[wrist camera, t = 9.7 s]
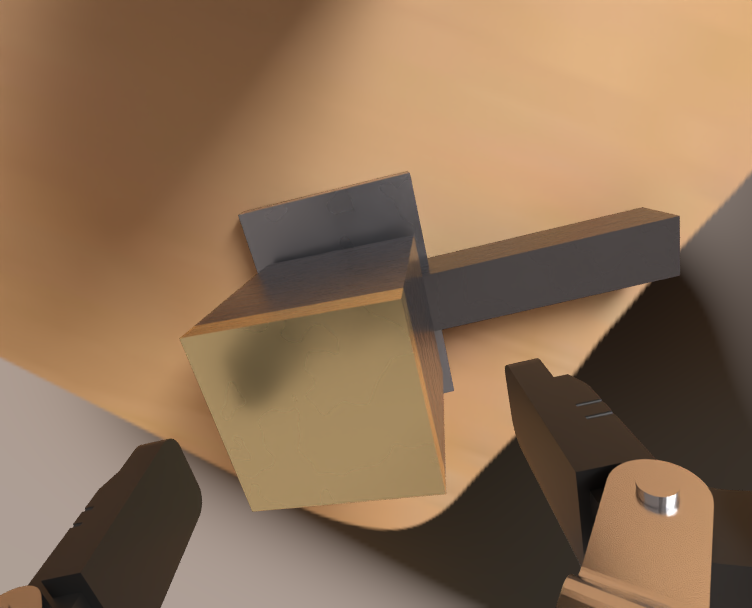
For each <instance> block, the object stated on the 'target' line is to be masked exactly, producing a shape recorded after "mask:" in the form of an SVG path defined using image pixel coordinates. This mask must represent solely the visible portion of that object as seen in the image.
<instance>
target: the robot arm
mask: <svg viewBox="0 0 752 608" xmlns="http://www.w3.org/2000/svg"><path fill="white" fill-rule="evenodd" d="M505 375H506V382H507V389H508V395H509V402H510V408H511V415H512V421H513V426H514V430H515V434H516V437H517V440H518V442H519V445H520V447H521V449H522V451H523V453H524V455H525V457H526V459H527V461H528V463H529V465H530V467H531V469H532V471H533V473H534V475H535V477H536V479H537V481H538V483H539V485H540V487H541V489H542V491H543V493H544V495H545V497H546V499H547V501H548V502H549V505H550V507H551V508H552V510H553V512H554V514H555V516H556V518H557V520H558V522H559V524H560V526H561V528H562V530H563V532H564V534H565V536H566V538H567V540H568V542H569V544H570V546H571V548H572V550H573V552H574V554H575V556H576V558H577V560H578V562H579V564H580V566H581V570H580V573H579V575H578V576H576V575H573V574H570V575H569V576H568V577H567V579H566V580H565V582H564V585H563V587H562V590H561V593H560V596H559V599H558V602H557V605H556V608H752V491H739V490H723V489H716V488H710V487H707V486H706V484H705V483H704V482H703V481H701V479H699V478H698V477H697V476H696V475H694V474H693V473H691V472H690V471H688V470H686V469H684V468H682V467H680V466H677V465H674V464H672V463H668V462H664V461H659V460H656V459H655V458H654V457H653V455H652V454H651V453H650V452H649V451H648V450H647V449H646V448H645V447H644V446H643V445H642V443H641V442H640V441H639V440H638V439H637V438H636V437H635V436H634V434H633V433H632V432H631V431H630V430H629V429H628V428H627V427H626V426H625V425H624V423H623V422H622V421H621V420H620V419H619V418H618V417H617V416H616V415H615V414H613V413H612V410H611V409H610V408H609V407H608V406H607V405H606V404H605V402H602V400H601V398H600V397H599V396H598V395H597V394H596V392H595V391H593V389H592V388H591V387H590V386H589V385H588V384H586V383H584V382H582V381H580V380H578V379H576V378H574V377H572V376H570V375H568V374H567V375H562V376H558V377H553V376H552V374H551V373H550V372H549V371H548V369H547V368H546V367H545V365H544V364H543V363H542V362H541V360H540V359H538V358H536V359H532V360H527V361H523V362H518V363H514V364H509V365H506V366H505ZM201 507H202V496H201V491H200V488H199V485H198V483H197V481H196V479H195V477H194V475H193V473H192V470H191V469H190V466H189V464H188V462H187V460H186V458H185V456H184V454H183V452H182V449H181V447H180V445H179V444H178V442H177V441H176V440H174V439H166V440H161V441H157V442H152V443H148V444H144V445H140V446H138V447H137V448H136V449H135V450H134V452H133V453H132V454H131V456H130V457H129V459H128V460H127V461H126V463H125V464H124V465H123V467H122V468H121V470H120V471H119V472H118V473H117V474H116V475H114V476H113V477H112V478H111V479H110V480H109V481H108V482H107V483H106V484H104V485H103V486H102V487H101V488H100V489H99V490H98V491H97V493H96V494H95V495H94V497H93V498H92V500H91V501H90V502H89V503H88V505H87V506H86V507H85V511H84V512H82V513H81V514H80V516H79V517H78V518H77V520H76V521H75V523H74V524H73V525H74V527H73V528H70V529H69V530H68V532H67V533H66V534H65V536H64V538H63V539H62V540H61V541H60V543H59V544H58V545H57V547H56V548H55V550H54V551H53V552H52V553H51V555H50V556H49V557H48V559H47V560H46V562H45V563H44V564H43V566H42V567H41V568H40V570H39V571H38V572H37V574H36V575H35V576H34V578H33V579H32V580H31V582H30V583H29V585H28V586H23V587H18V588H15V589H12V590H10V591H8V592H6V593H4V594H2V595H0V608H160V607H161V605H162V603H163V601H164V598H165V596H166V594H167V591H168V589H169V586H170V584H171V582H172V579H173V577H174V574H175V572H176V570H177V568H178V565H179V563H180V560H181V558H182V556H183V554H184V551H185V549H186V547H187V544H188V542H189V539H190V537H191V535H192V532H193V530H194V528H195V525H196V523H197V521H198V518H199V516H200V513H201Z"/></svg>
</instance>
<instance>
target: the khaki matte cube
mask: <svg viewBox="0 0 752 608" xmlns="http://www.w3.org/2000/svg"><path fill="white" fill-rule="evenodd" d="M179 339H180V341H181V343H182V346H183V348H184V350H185V353H186V355H187V358H188V360H189V362H190V365H191V367H192V369H193V372H194V374H195V377H196V379H197V381H198V384H199V386H200V388H201V391H202V393H203V396H204V398H205V400H206V403H207V405H208V407H209V410H210V412H211V415H212V417H213V419H214V422H215V424H216V426H217V429H218V431H219V434H220V436H221V438H222V441H223V443H224V445H225V448H226V450H227V453H228V455H229V457H230V460H231V462H232V464H233V467H234V469H235V472H236V474H237V476H238V479H239V481H240V483H241V486H242V488H243V491H244V493H245V495H246V498H247V500H248V502H249V505H250V507H251V510H252V511H264V510H276V509H287V508H298V507H309V506H320V505H331V504H342V503H353V502H364V501H375V500H386V499H398V498H409V497H420V496H431V495H442V494H446V472H445V435H444V399H443V371H442V366H441V362H440V357H439V352H438V347H437V343H436V338H435V333H434V328H433V324H432V319H431V314H430V309H429V305H428V300H427V295H426V290H425V286H424V281H423V276H422V271H421V267H420V262H419V257H418V252H417V247H416V243H415V238H414V235H411V236H406V237H401V238H397V239H392V240H387V241H382V242H377V243H372V244H367V245H363V246H358V247H353V248H348V249H343V250H338V251H333V252H329V253H324V254H319V255H314V256H309V257H304V258H299V259H295V260H290V261H285V262H280V263H275V264H270V265H267V266H266V267H265V268H264V269H262V270H261V271H260V272H259V273H258V274H256V275H255V276H254V277H253V278H252V279H250V280H249V281H248V282H247V283H246V284H244V285H243V286H242V287H241V288H240V289H238V290H237V291H236V292H235V293H234V294H232V295H231V296H230V297H229V298H228V299H226V300H225V301H224V302H223V303H222V304H220V305H219V306H218V307H217V308H216V309H214V310H213V311H212V312H211V313H210V314H208V315H207V316H206V317H205V318H204V319H202V320H201V321H200V322H199V323H198V324H196V325H195V326H194V327H193V328H192V329H190V330H189V331H188V332H187V333H185V334H184V335H183V336H182V337H181V338H179Z"/></svg>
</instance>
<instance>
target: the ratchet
mask: <svg viewBox="0 0 752 608" xmlns="http://www.w3.org/2000/svg"><path fill="white" fill-rule="evenodd" d="M238 216H239V219H240V222H241V225H242V228H243V231H244V234H245V237H246V240H247V243H248V246H249V249H250V252H251V254H252V257H253V260H254V263H255V266H256V269H257V272H258V273H259V272H260V271H261V270H262V269H264V268H265V267H266V266H267V265H270V264H275V263H280V262H285V261H290V260H295V259H299V258H304V257H309V256H314V255H319V254H324V253H329V252H333V251H338V250H343V249H348V248H353V247H358V246H363V245H367V244H372V243H377V242H382V241H387V240H392V239H397V238H401V237H406V236H411V235H414V238H415V243H416V247H417V252H418V257H419V262H420V267H421V271H422V276H423V281H424V286H425V290H426V295H427V300H428V305H429V309H430V314H431V319H432V324H433V328H434V333H435V338H436V343H437V347H438V352H439V357H440V362H441V366H442V371H443V393H447V392H451V391H454V387H453V383H452V378H451V373H450V368H449V363H448V358H447V353H446V348H445V343H444V338H443V333H442V329H447V328H451V327H455V326H460V325H464V324H469V323H473V322H477V321H482V320H486V319H490V318H495V317H499V316H504V315H508V314H512V313H517V312H521V311H526V310H530V309H534V308H539V307H543V306H548V305H552V304H556V303H561V302H565V301H569V300H574V299H578V298H583V297H587V296H591V295H596V294H600V293H605V292H609V291H613V290H618V289H622V288H627V287H631V286H635V285H640V284H644V283H649V282H653V281H657V280H661V279H666V278H670V277H675V276H679V275H680V216H678V215H673V214H669V213H665V212H660V211H656V210H652V209H647V208H643V207H642V208H638V209H634V210H630V211H625V212H621V213H617V214H613V215H608V216H604V217H600V218H596V219H592V220H587V221H583V222H579V223H575V224H570V225H566V226H562V227H558V228H554V229H549V230H545V231H541V232H537V233H532V234H528V235H524V236H520V237H515V238H511V239H507V240H503V241H499V242H494V243H490V244H486V245H482V246H477V247H473V248H469V249H465V250H461V251H456V252H452V253H448V254H444V255H439V256H435V257H431V258H427V255H426V250H425V245H424V240H423V235H422V230H421V225H420V221H419V216H418V211H417V206H416V201H415V196H414V191H413V186H412V181H411V176H410V173H409V172H408V171H406V172H402V173H398V174H394V175H390V176H386V177H382V178H378V179H374V180H370V181H366V182H362V183H358V184H354V185H350V186H346V187H342V188H338V189H333V190H329V191H325V192H321V193H317V194H313V195H309V196H305V197H301V198H297V199H293V200H289V201H285V202H281V203H277V204H273V205H269V206H265V207H261V208H257V209H253V210H249V211H245V212H243V213H241V214H239V215H238Z"/></svg>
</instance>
